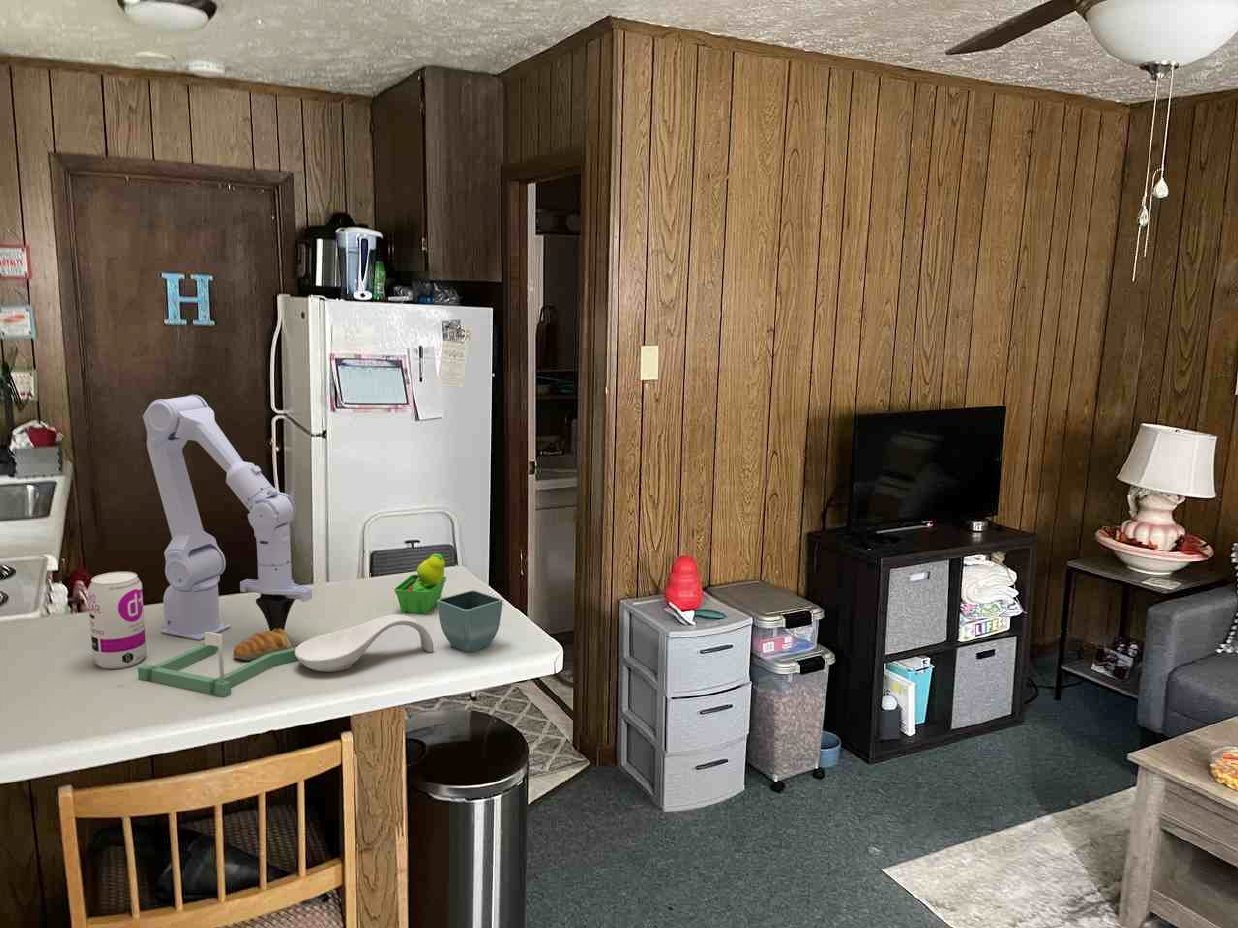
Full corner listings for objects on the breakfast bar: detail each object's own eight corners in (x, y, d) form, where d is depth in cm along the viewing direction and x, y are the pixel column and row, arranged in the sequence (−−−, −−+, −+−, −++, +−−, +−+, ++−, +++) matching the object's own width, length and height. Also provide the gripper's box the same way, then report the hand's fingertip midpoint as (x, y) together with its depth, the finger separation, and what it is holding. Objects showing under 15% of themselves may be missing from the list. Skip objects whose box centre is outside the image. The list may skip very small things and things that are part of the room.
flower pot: (435, 646, 180) (435, 599, 178) (473, 634, 186) (473, 589, 184) (465, 659, 174) (465, 610, 172) (504, 646, 180) (504, 599, 178)
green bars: (135, 678, 162) (131, 620, 161) (217, 642, 179) (214, 589, 177) (227, 697, 156) (224, 637, 154) (303, 658, 172) (301, 604, 170)
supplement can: (157, 656, 172) (152, 573, 169) (119, 673, 164) (113, 586, 162) (121, 649, 175) (115, 568, 172) (82, 666, 167) (75, 581, 164)
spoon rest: (304, 684, 162) (303, 643, 161) (288, 661, 172) (286, 621, 171) (441, 659, 174) (440, 621, 173) (418, 639, 184) (418, 602, 183)
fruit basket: (412, 596, 208) (411, 545, 206) (453, 599, 207) (452, 547, 205) (393, 614, 197) (392, 559, 195) (435, 616, 196) (435, 562, 193)
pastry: (245, 666, 168) (244, 645, 168) (225, 656, 173) (224, 635, 172) (294, 652, 175) (293, 631, 175) (274, 643, 180) (273, 623, 179)
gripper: (321, 560, 179) (324, 632, 181) (257, 551, 184) (260, 621, 186) (295, 570, 172) (298, 644, 174) (230, 561, 177) (234, 632, 180)
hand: (277, 633), depth 180 cm, fingers closed
